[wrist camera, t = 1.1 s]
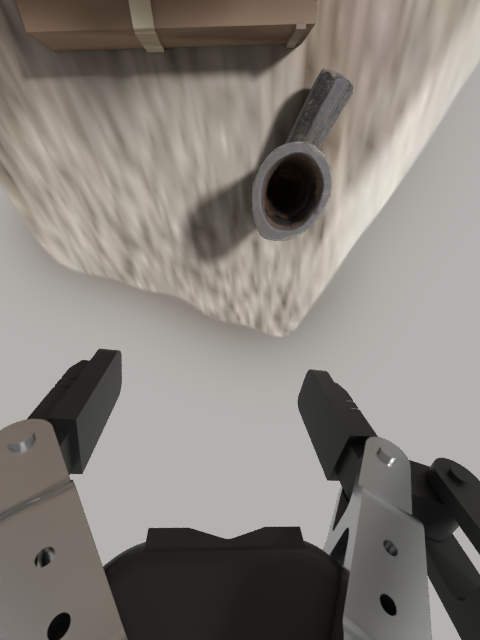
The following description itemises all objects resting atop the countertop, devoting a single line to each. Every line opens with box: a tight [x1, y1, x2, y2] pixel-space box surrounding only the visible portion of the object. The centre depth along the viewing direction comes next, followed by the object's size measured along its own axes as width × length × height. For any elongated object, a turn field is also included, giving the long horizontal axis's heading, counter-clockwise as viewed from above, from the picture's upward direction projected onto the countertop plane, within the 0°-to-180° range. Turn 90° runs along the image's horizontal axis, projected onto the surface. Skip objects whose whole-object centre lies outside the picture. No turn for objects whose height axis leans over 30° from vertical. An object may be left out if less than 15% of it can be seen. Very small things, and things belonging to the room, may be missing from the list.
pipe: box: [251, 69, 353, 241], centre depth 22 cm, size 6×13×8 cm, turn 154°
